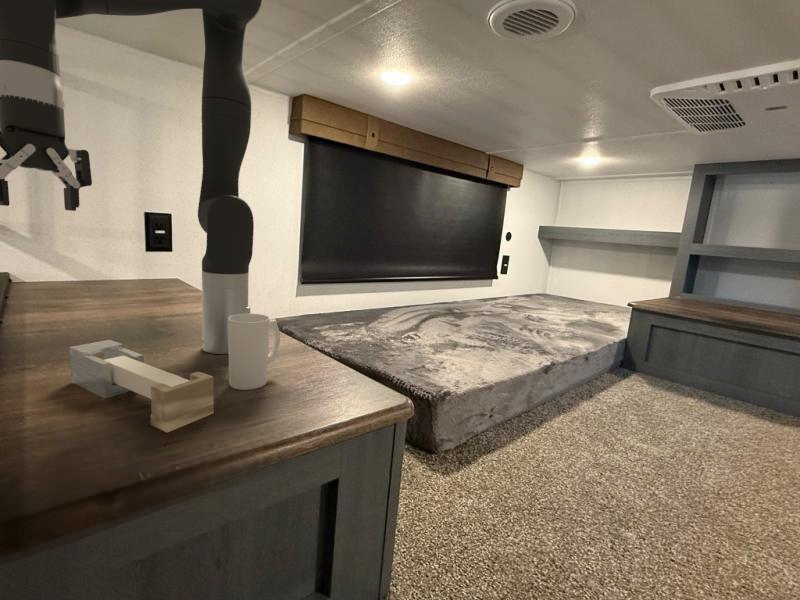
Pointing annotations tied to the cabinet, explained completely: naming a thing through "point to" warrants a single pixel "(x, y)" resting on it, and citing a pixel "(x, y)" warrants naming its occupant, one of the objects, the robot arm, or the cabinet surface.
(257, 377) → the mug
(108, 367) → the grey slotted channel block
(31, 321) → the cabinet surface
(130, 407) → the cabinet surface
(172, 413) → the socket
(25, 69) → the robot arm
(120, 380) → the cream square bar
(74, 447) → the cabinet surface
